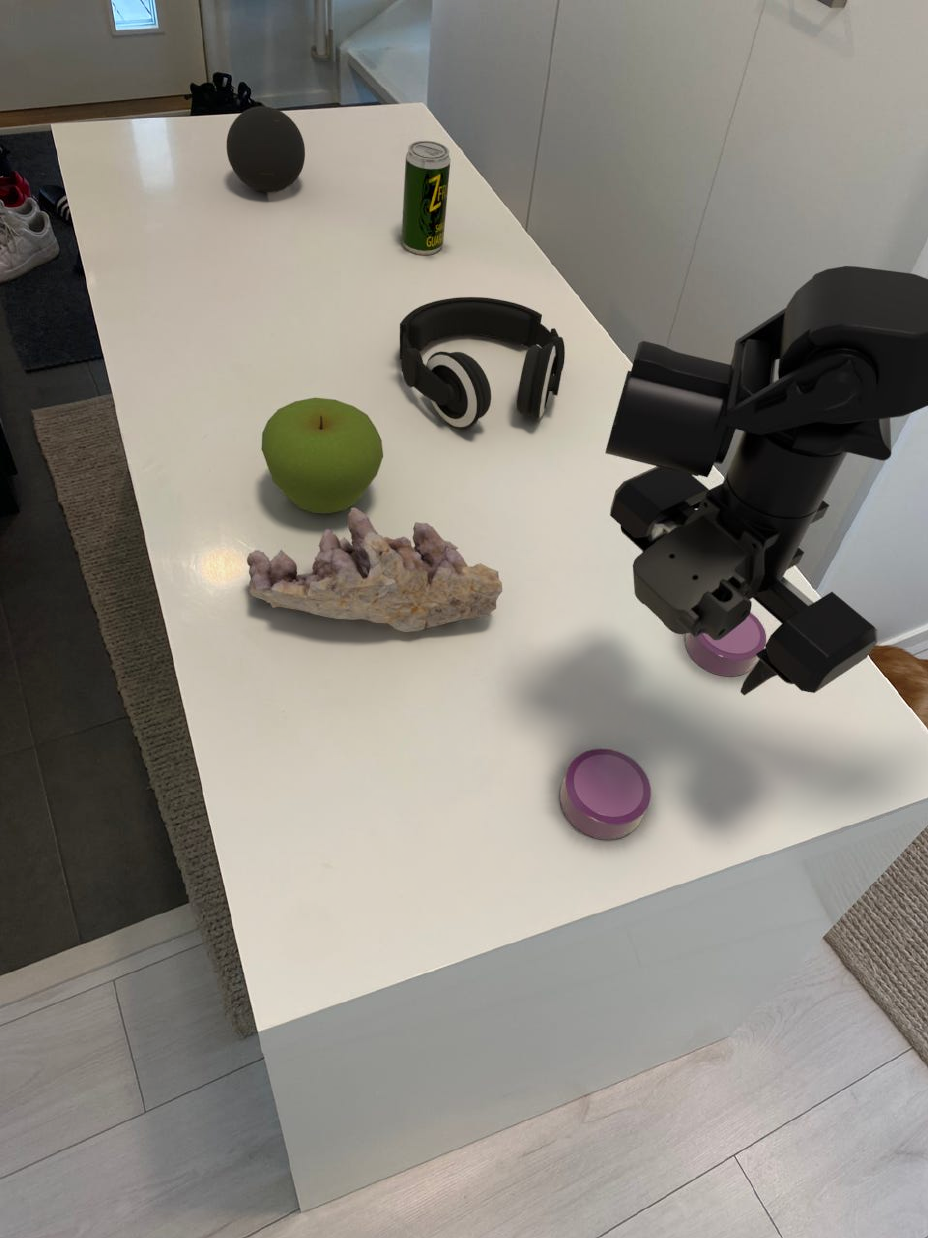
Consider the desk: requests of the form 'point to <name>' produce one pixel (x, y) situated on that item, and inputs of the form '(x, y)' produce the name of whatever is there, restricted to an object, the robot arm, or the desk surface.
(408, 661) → the desk surface
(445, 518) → the desk surface
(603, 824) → the dish
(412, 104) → the desk surface
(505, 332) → the headphones
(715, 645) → the dish
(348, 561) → the mineral specimen
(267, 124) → the speaker
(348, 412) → the apple
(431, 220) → the green energy drink can
